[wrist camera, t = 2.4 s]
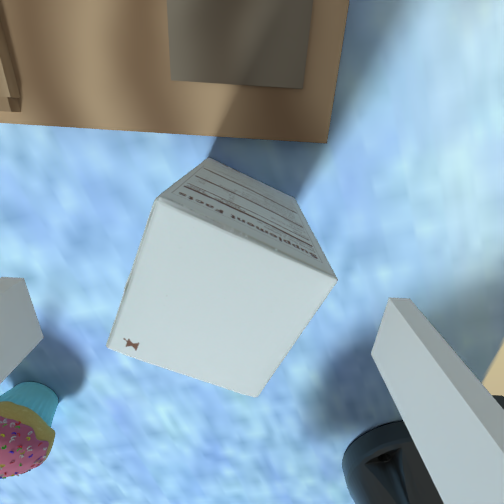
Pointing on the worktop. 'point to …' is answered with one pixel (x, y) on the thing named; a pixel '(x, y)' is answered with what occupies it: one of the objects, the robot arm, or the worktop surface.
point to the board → (173, 65)
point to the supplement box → (221, 280)
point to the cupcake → (26, 427)
